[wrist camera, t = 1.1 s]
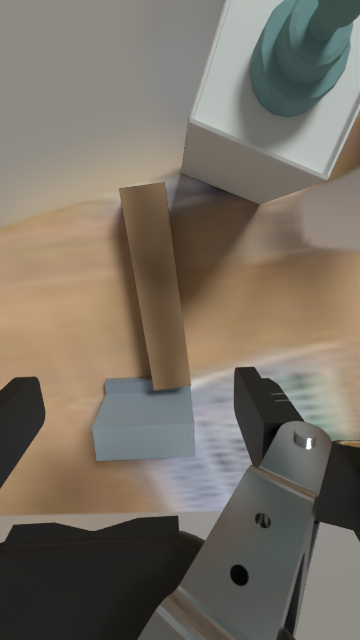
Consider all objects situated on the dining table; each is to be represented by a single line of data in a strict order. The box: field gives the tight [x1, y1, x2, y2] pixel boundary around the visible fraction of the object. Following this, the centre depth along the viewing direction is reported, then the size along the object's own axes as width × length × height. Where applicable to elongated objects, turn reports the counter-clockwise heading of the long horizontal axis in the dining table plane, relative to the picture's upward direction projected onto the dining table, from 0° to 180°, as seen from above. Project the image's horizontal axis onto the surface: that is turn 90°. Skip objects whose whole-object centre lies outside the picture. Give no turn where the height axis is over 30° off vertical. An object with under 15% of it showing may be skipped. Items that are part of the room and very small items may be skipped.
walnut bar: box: [119, 182, 191, 390], centre depth 29 cm, size 4×20×4 cm, turn 7°
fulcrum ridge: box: [92, 377, 195, 461], centre depth 31 cm, size 10×7×7 cm
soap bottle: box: [181, 0, 360, 204], centre depth 17 cm, size 9×9×19 cm
